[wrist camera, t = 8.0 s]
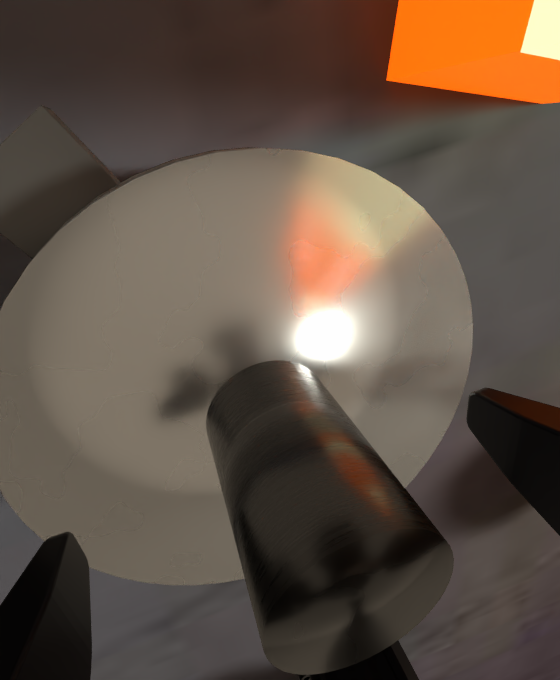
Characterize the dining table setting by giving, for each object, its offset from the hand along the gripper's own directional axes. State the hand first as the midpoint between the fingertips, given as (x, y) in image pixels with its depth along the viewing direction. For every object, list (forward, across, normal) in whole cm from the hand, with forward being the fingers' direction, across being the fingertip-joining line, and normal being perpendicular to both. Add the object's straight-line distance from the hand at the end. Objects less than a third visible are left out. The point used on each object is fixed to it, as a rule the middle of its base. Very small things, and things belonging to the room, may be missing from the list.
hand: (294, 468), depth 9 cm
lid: (+3, 0, 0) cm, 3 cm away
